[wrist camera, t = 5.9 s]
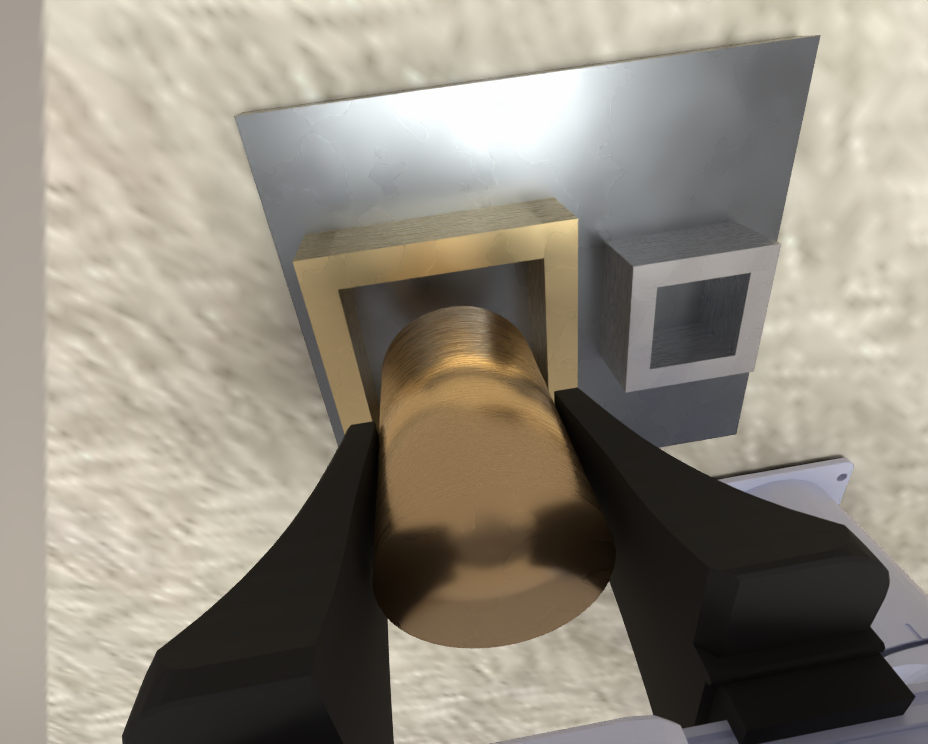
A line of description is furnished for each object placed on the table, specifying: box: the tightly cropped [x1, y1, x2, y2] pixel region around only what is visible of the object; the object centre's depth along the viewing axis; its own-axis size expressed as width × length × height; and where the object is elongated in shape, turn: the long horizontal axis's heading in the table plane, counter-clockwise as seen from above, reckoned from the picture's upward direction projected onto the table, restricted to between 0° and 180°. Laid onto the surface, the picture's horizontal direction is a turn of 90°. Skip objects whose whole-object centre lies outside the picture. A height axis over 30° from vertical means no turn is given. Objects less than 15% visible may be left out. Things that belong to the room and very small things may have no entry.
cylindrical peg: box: [372, 306, 616, 648], centre depth 13 cm, size 4×4×7 cm
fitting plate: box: [234, 35, 820, 448], centre depth 18 cm, size 15×17×4 cm
